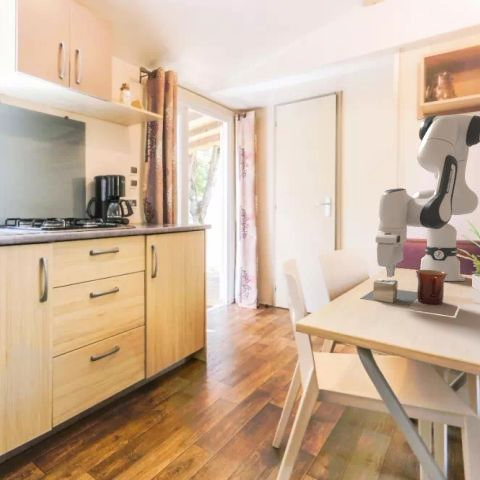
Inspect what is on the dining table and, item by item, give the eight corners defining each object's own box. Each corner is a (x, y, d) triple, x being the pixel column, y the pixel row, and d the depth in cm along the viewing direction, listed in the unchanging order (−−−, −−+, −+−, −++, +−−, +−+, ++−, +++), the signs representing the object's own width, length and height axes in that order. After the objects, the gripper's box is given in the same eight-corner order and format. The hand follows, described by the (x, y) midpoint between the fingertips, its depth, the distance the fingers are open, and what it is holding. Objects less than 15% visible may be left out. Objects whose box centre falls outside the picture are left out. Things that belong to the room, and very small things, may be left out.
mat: (378, 288, 132) (378, 287, 132) (421, 294, 123) (421, 292, 123) (359, 300, 114) (359, 298, 114) (408, 307, 105) (409, 306, 105)
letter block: (373, 281, 113) (373, 299, 113) (393, 284, 109) (392, 302, 109) (378, 278, 117) (378, 295, 118) (397, 280, 114) (397, 298, 114)
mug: (411, 299, 115) (412, 269, 115) (439, 300, 114) (441, 270, 113) (422, 309, 104) (424, 275, 103) (454, 311, 102) (456, 277, 101)
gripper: (390, 234, 127) (388, 271, 128) (373, 237, 110) (372, 280, 112) (408, 235, 123) (407, 273, 124) (394, 238, 107) (393, 282, 108)
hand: (390, 276), depth 118 cm, fingers closed
